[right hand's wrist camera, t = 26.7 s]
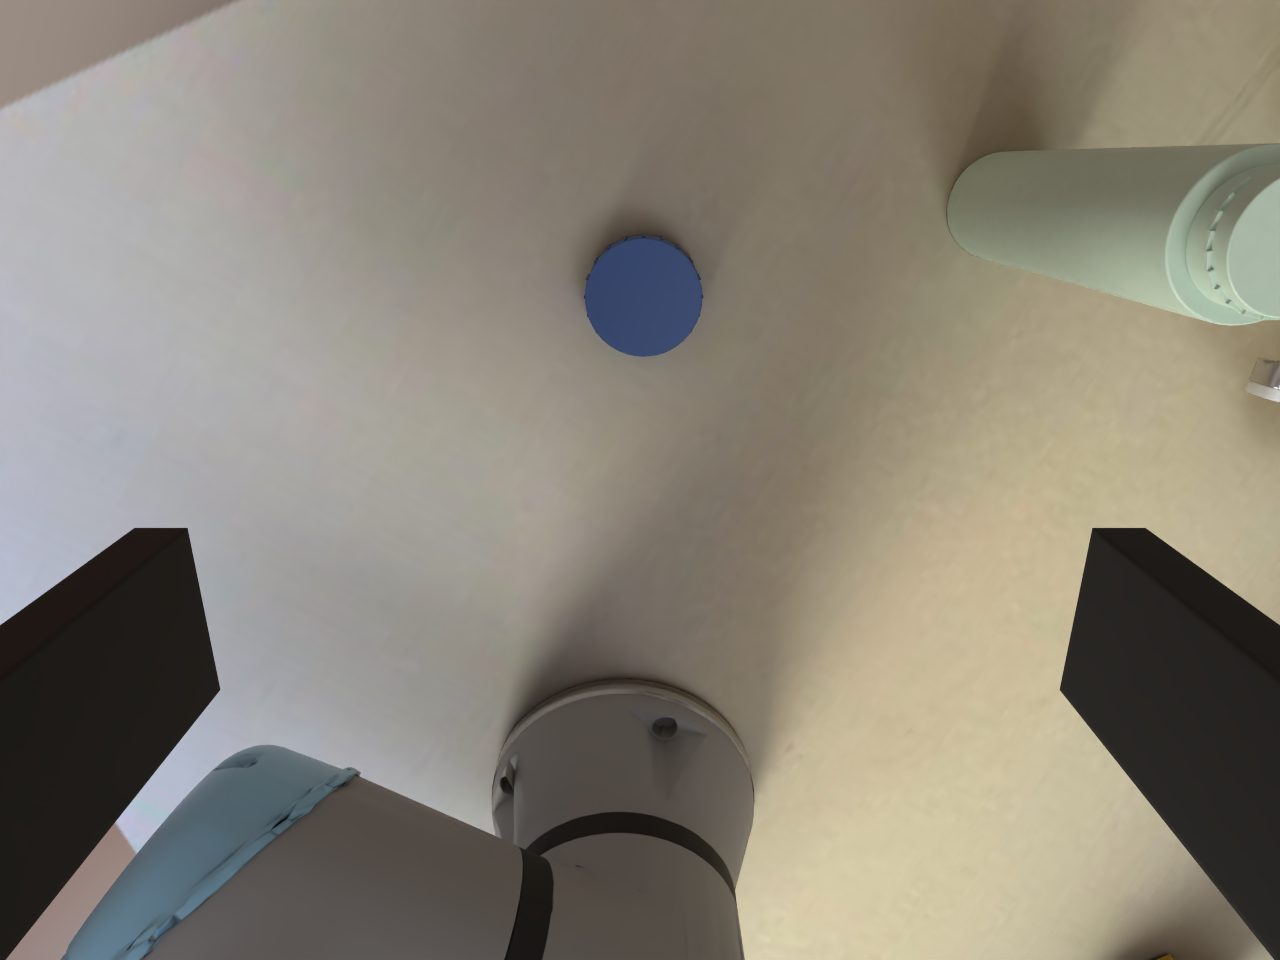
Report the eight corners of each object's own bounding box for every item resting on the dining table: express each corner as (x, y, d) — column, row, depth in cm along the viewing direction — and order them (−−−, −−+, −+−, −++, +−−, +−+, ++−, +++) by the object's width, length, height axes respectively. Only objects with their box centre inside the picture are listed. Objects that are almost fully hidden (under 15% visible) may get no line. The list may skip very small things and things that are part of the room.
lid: (710, 243, 40) (713, 247, 38) (689, 356, 42) (691, 365, 40) (594, 224, 40) (592, 227, 38) (579, 339, 42) (576, 348, 40)
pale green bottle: (930, 243, 40) (1172, 310, 22) (970, 138, 38) (1267, 117, 20) (1023, 270, 40) (1336, 359, 22) (1067, 168, 39) (1442, 173, 21)
